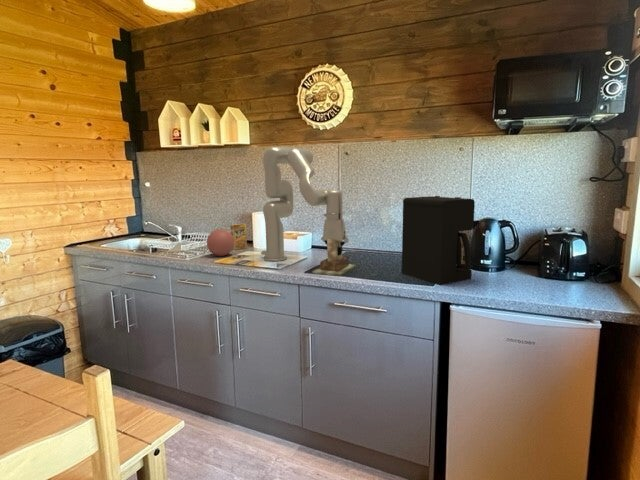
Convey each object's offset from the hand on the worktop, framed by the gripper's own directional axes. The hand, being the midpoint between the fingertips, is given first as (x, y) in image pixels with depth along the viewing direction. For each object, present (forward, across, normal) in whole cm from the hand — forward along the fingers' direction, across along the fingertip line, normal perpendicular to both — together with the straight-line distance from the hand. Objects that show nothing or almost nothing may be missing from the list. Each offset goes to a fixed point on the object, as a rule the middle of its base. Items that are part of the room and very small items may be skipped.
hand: (334, 254), depth 198 cm
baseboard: (+8, -115, +15) cm, 116 cm away
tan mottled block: (+4, 0, 0) cm, 4 cm away
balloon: (+7, -74, +8) cm, 75 cm away
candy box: (+7, -78, +28) cm, 83 cm away
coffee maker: (+8, +48, +6) cm, 49 cm away
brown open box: (+8, 0, 0) cm, 8 cm away
